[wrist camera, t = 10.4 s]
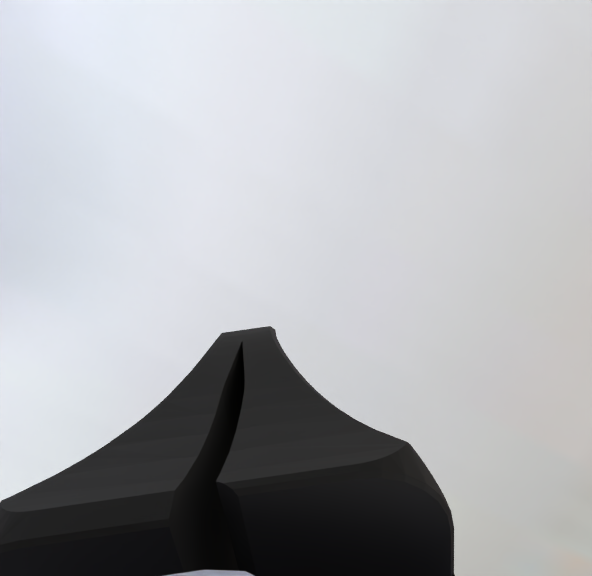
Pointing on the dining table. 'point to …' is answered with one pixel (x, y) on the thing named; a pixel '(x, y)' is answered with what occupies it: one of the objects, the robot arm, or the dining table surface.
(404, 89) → the dining table surface
